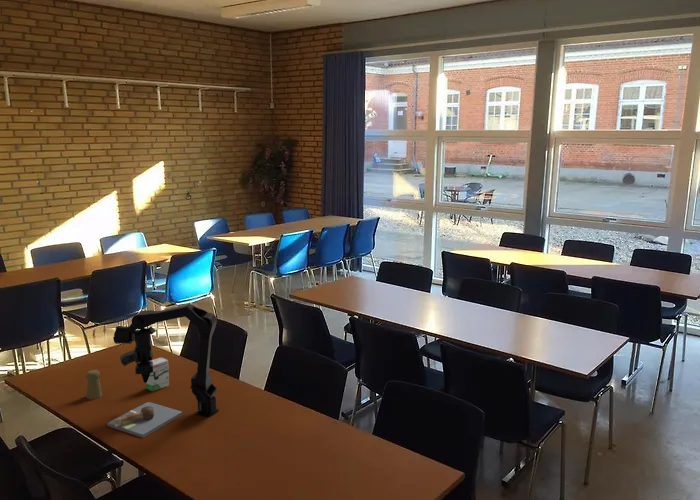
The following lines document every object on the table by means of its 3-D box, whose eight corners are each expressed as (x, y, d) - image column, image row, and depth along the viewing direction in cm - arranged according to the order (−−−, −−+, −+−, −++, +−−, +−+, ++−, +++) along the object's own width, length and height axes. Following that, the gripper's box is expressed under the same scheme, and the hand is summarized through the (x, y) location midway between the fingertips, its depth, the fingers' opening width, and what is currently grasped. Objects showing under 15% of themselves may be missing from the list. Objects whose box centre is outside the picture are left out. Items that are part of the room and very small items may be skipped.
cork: (105, 393, 238) (103, 368, 236) (97, 399, 232) (95, 374, 230) (91, 392, 238) (89, 367, 236) (83, 398, 232) (81, 373, 230)
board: (182, 414, 221) (182, 411, 220) (143, 437, 203) (142, 434, 203) (148, 404, 228) (148, 401, 228) (107, 426, 211) (107, 422, 210)
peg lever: (151, 412, 218) (150, 405, 217) (155, 416, 215) (155, 409, 214) (113, 423, 209) (112, 416, 208) (117, 428, 205) (116, 420, 205)
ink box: (152, 392, 240) (150, 365, 238) (145, 388, 243) (144, 362, 241) (169, 385, 247) (168, 359, 244) (163, 382, 250) (161, 356, 247)
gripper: (121, 338, 225) (124, 375, 228) (119, 354, 207) (122, 395, 210) (151, 335, 228) (153, 372, 231) (152, 351, 211) (154, 390, 214)
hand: (145, 382), depth 222 cm, fingers closed
